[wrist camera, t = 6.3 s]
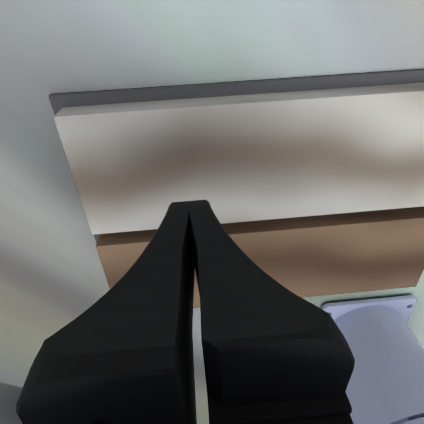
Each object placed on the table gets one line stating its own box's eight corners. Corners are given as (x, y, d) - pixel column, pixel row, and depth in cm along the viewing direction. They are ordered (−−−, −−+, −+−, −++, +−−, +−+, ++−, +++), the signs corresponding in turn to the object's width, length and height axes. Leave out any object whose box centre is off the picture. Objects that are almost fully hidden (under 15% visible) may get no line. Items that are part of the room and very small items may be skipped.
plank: (437, 191, 21) (453, 203, 20) (97, 219, 20) (92, 234, 19) (484, 78, 17) (508, 84, 16) (63, 107, 16) (53, 116, 15)
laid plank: (404, 271, 25) (415, 286, 24) (121, 298, 24) (118, 314, 23) (433, 202, 22) (448, 215, 20) (100, 231, 21) (96, 246, 20)
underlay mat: (408, 268, 26) (410, 271, 25) (115, 295, 25) (114, 299, 24) (494, 64, 17) (499, 65, 17) (50, 94, 16) (48, 95, 16)
